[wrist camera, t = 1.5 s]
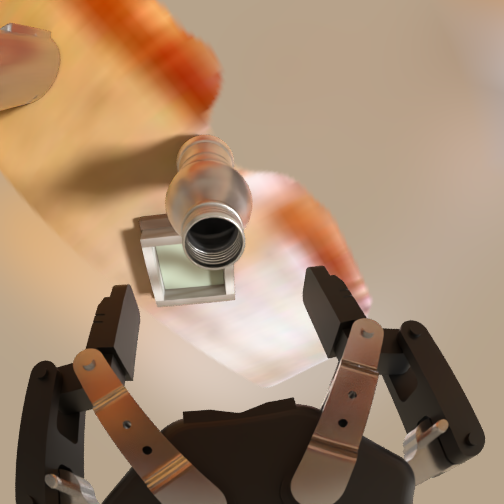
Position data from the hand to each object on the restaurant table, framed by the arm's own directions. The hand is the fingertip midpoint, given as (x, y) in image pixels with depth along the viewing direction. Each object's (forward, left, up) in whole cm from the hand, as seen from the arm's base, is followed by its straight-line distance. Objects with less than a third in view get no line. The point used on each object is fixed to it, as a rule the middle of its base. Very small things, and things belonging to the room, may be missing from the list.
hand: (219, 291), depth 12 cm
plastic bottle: (0, 0, -24) cm, 24 cm away
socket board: (+14, -3, -24) cm, 28 cm away
